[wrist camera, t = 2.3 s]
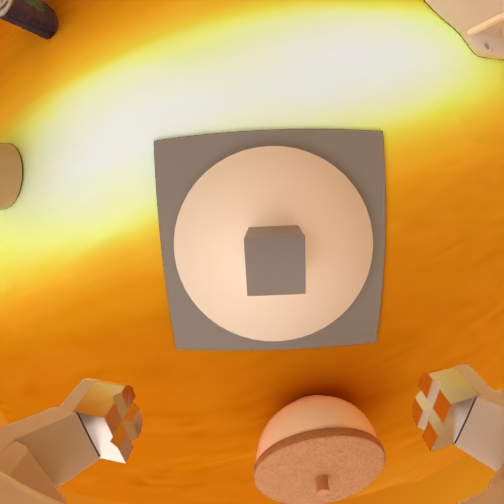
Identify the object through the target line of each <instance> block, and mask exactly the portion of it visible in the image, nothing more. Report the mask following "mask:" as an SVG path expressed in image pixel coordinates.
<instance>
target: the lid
mask: <svg viewBox="0 0 504 504" xmlns="http://www.w3.org/2000/svg"><path fill="white" fill-rule="evenodd" d="M372 253H373V232H372V226H371V221H370V217H369V214H368V211H367V208H366V206H365V204H364V202H363V200H362V198H361V196H360V194H359V193H358V191H357V190H356V188H355V187H354V185H353V184H352V183H351V182H350V180H349V179H348V178H347V177H346V176H345V175H344V174H343V173H342V172H341V171H340V170H338V169H337V168H336V167H335V166H334V165H332V164H331V163H329V162H328V161H326V160H324V159H323V158H321V157H319V156H317V155H314V154H312V153H310V152H307V151H304V150H300V149H297V148H291V147H285V146H264V147H255V148H251V149H247V150H243V151H240V152H238V153H235V154H233V155H231V156H228V157H227V158H225V159H223V160H221V161H220V162H218V163H216V164H215V165H214V166H213V167H211V168H210V169H209V170H208V171H206V172H205V173H204V174H203V175H202V176H201V177H200V178H199V179H198V180H197V182H196V183H195V184H194V186H193V187H192V188H191V190H190V191H189V193H188V194H187V196H186V198H185V200H184V202H183V204H182V206H181V209H180V212H179V214H178V217H177V222H176V226H175V233H174V256H175V261H176V267H177V270H178V273H179V276H180V279H181V281H182V284H183V286H184V288H185V290H186V292H187V293H188V295H189V296H190V298H191V299H192V301H193V302H194V303H195V304H196V306H197V307H198V308H199V309H200V310H201V311H202V312H203V313H204V314H205V315H206V316H207V317H208V318H209V319H211V320H212V321H213V322H215V323H216V324H217V325H219V326H221V327H222V328H224V329H226V330H228V331H230V332H232V333H234V334H237V335H239V336H242V337H246V338H250V339H254V340H261V341H285V340H292V339H297V338H301V337H304V336H307V335H310V334H312V333H315V332H317V331H319V330H321V329H323V328H324V327H326V326H327V325H329V324H331V323H332V322H334V321H335V320H336V319H337V318H338V317H340V316H341V315H342V314H343V313H344V312H345V311H346V310H347V309H348V308H349V307H350V305H351V304H352V303H353V302H354V300H355V299H356V297H357V296H358V294H359V293H360V291H361V289H362V287H363V285H364V283H365V281H366V278H367V276H368V273H369V269H370V265H371V261H372Z"/></svg>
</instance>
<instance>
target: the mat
mask: <svg viewBox="0 0 504 504" xmlns="http://www.w3.org/2000/svg"><path fill="white" fill-rule="evenodd" d="M264 146H285V147H291V148H297V149H300V150H304V151H307V152H310V153H312V154H314V155H317V156H319V157H321V158H323V159H324V160H326V161H328V162H329V163H331V164H332V165H334V166H335V167H336V168H337V169H338V170H340V171H341V172H342V173H343V174H344V175H345V176H346V177H347V178H348V179H349V180H350V182H351V183H352V184H353V185H354V187H355V188H356V190H357V191H358V193H359V194H360V196H361V198H362V200H363V202H364V204H365V206H366V208H367V211H368V214H369V217H370V221H371V226H372V232H373V253H372V261H371V265H370V269H369V273H368V276H367V278H366V281H365V283H364V285H363V287H362V289H361V291H360V293H359V294H358V296H357V297H356V299H355V300H354V302H353V303H352V304H351V305H350V307H349V308H348V309H347V310H346V311H345V312H344V313H343V314H342V315H341V316H340V317H338V318H337V319H336V320H335V321H334V322H332V323H331V324H329V325H327V326H326V327H324V328H323V329H321V330H319V331H317V332H315V333H312V334H310V335H307V336H304V337H301V338H297V339H292V340H285V341H261V340H254V339H250V338H246V337H242V336H239V335H237V334H234V333H232V332H230V331H228V330H226V329H224V328H222V327H221V326H219V325H217V324H216V323H215V322H213V321H212V320H211V319H209V318H208V317H207V316H206V315H205V314H204V313H203V312H202V311H201V310H200V309H199V308H198V307H197V306H196V304H195V303H194V302H193V301H192V299H191V298H190V296H189V295H188V293H187V292H186V290H185V288H184V286H183V284H182V281H181V279H180V276H179V273H178V270H177V267H176V261H175V256H174V233H175V226H176V222H177V217H178V214H179V212H180V209H181V206H182V204H183V202H184V200H185V198H186V196H187V194H188V193H189V191H190V190H191V188H192V187H193V186H194V184H195V183H196V182H197V180H198V179H199V178H200V177H201V176H202V175H203V174H204V173H205V172H206V171H208V170H209V169H210V168H211V167H213V166H214V165H215V164H216V163H218V162H220V161H221V160H223V159H225V158H227V157H228V156H231V155H233V154H235V153H238V152H240V151H243V150H247V149H251V148H255V147H264ZM154 159H155V178H156V193H157V206H158V218H159V229H160V239H161V248H162V257H163V266H164V274H165V281H166V289H167V296H168V303H169V309H170V316H171V322H172V328H173V334H174V340H175V345H176V349H182V350H283V349H304V348H320V347H334V346H346V345H357V344H367V343H376V341H377V333H378V325H379V316H380V307H381V297H382V285H383V271H384V254H385V222H386V191H385V160H384V143H383V131H369V130H345V129H280V130H256V131H239V132H226V133H214V134H204V135H195V136H186V137H178V138H170V139H163V140H156V141H154Z"/></svg>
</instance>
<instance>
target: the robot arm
mask: <svg viewBox="0 0 504 504" xmlns="http://www.w3.org/2000/svg"><path fill="white" fill-rule="evenodd" d="M425 1H426V2H427V3H428V5H429V6H430V7H431V8H432V9H433V10H434V11H435V12H436V13H437V14H438V15H439V16H441V17H442V18H443V19H444V20H445V21H446V22H447V23H449V24H450V25H451V26H452V27H453V28H455V29H456V30H457V31H458V32H459V33H460V34H461V36H462V37H463V39H464V40H465V41H466V43H467V44H468V45H469V47H470V48H471V49H472V51H473V52H474V53H475V54H477V55H478V56H480V57H487V58H494V59H501V60H504V0H425ZM418 386H419V388H420V389H421V391H420V392H419V393H418V395H417V396H416V397H415V399H414V403H413V418H414V421H415V423H416V425H417V427H419V428H421V429H423V430H424V434H423V438H424V440H425V442H426V444H427V446H428V447H429V449H430V451H434V450H438V449H441V448H444V447H448V446H451V445H454V444H455V446H456V447H458V448H459V449H461V450H463V451H464V452H466V453H467V454H469V455H470V456H472V457H474V458H475V459H477V460H479V461H480V462H482V463H484V464H485V465H487V466H488V467H490V468H492V469H493V470H495V471H496V472H497V473H496V474H495V476H494V477H493V478H492V480H491V481H490V483H489V485H488V488H489V489H487V490H485V491H483V492H481V493H479V494H477V495H475V496H472V497H470V498H468V499H466V500H464V501H461V502H459V503H457V504H504V392H503V391H501V390H498V389H497V390H494V391H493V389H492V388H491V387H490V386H489V385H488V384H487V383H486V382H485V381H484V380H483V379H482V378H481V377H480V376H479V375H478V374H477V373H476V372H475V370H474V369H473V368H472V367H471V366H470V365H469V364H466V363H463V364H460V365H456V366H453V367H451V368H447V369H443V370H438V371H434V372H430V373H425V374H423V375H422V377H421V378H420V381H419V385H418ZM135 397H136V396H135V393H134V391H133V388H132V387H131V386H129V385H126V384H119V383H113V382H107V381H102V380H100V381H99V380H95V379H89V378H85V379H82V381H81V382H80V383H79V384H78V385H77V386H76V388H75V389H74V390H73V391H72V392H71V393H70V394H69V396H68V397H67V398H66V399H65V400H64V401H63V403H62V404H61V405H60V406H59V407H52V408H50V409H47V410H45V411H42V412H40V413H37V414H35V415H32V416H29V417H27V418H24V419H22V420H19V421H16V422H14V423H11V424H8V425H5V426H3V427H0V504H66V503H67V502H66V499H65V497H64V496H63V495H62V494H61V493H60V492H59V490H58V489H57V487H59V486H61V485H62V484H64V483H65V482H67V481H68V480H70V479H71V478H73V477H74V476H76V475H77V474H79V473H80V472H82V471H83V470H85V469H86V468H88V467H89V466H91V465H92V464H94V463H95V462H96V461H98V460H99V459H100V458H104V459H108V460H113V461H117V462H122V463H126V461H127V459H128V457H129V455H130V453H131V451H132V449H133V446H132V444H131V441H132V440H134V439H136V438H138V436H139V434H140V432H141V427H142V415H141V412H140V408H139V407H138V406H137V405H136V404H135V403H134V402H133V400H134V398H135Z"/></svg>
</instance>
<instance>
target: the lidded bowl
mask: <svg viewBox="0 0 504 504" xmlns="http://www.w3.org/2000/svg"><path fill="white" fill-rule="evenodd" d="M385 461H386V458H385V452H384V449H383V447H382V444H381V443H380V441H379V440H378V437H377V435H376V432H375V430H374V428H373V426H372V425H371V423H370V421H369V420H368V418H367V417H366V416H365V415H364V413H363V412H362V411H361V410H359V409H358V408H357V407H356V406H354V405H353V404H351V403H350V402H348V401H345V400H343V399H340V398H337V397H332V396H325V395H310V396H305V397H302V398H299V399H297V400H295V401H294V402H292V403H290V404H288V405H286V406H285V407H283V408H282V409H281V410H280V411H278V412H277V413H276V414H275V415H274V416H273V417H272V418H271V419H270V421H269V422H268V424H267V425H266V427H265V429H264V430H263V433H262V435H261V438H260V441H259V445H258V449H257V456H256V464H255V467H254V483H255V485H256V487H257V488H258V489H259V490H260V491H261V492H262V493H263V494H264V495H266V496H267V497H269V498H271V499H273V500H275V501H278V502H282V503H286V504H325V503H330V502H334V501H337V500H341V499H344V498H346V497H349V496H351V495H353V494H355V493H357V492H359V491H361V490H362V489H364V488H365V487H367V486H368V485H369V484H371V483H372V482H373V481H374V480H375V479H376V478H377V477H378V475H379V474H380V473H381V471H382V469H383V467H384V464H385Z"/></svg>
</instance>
